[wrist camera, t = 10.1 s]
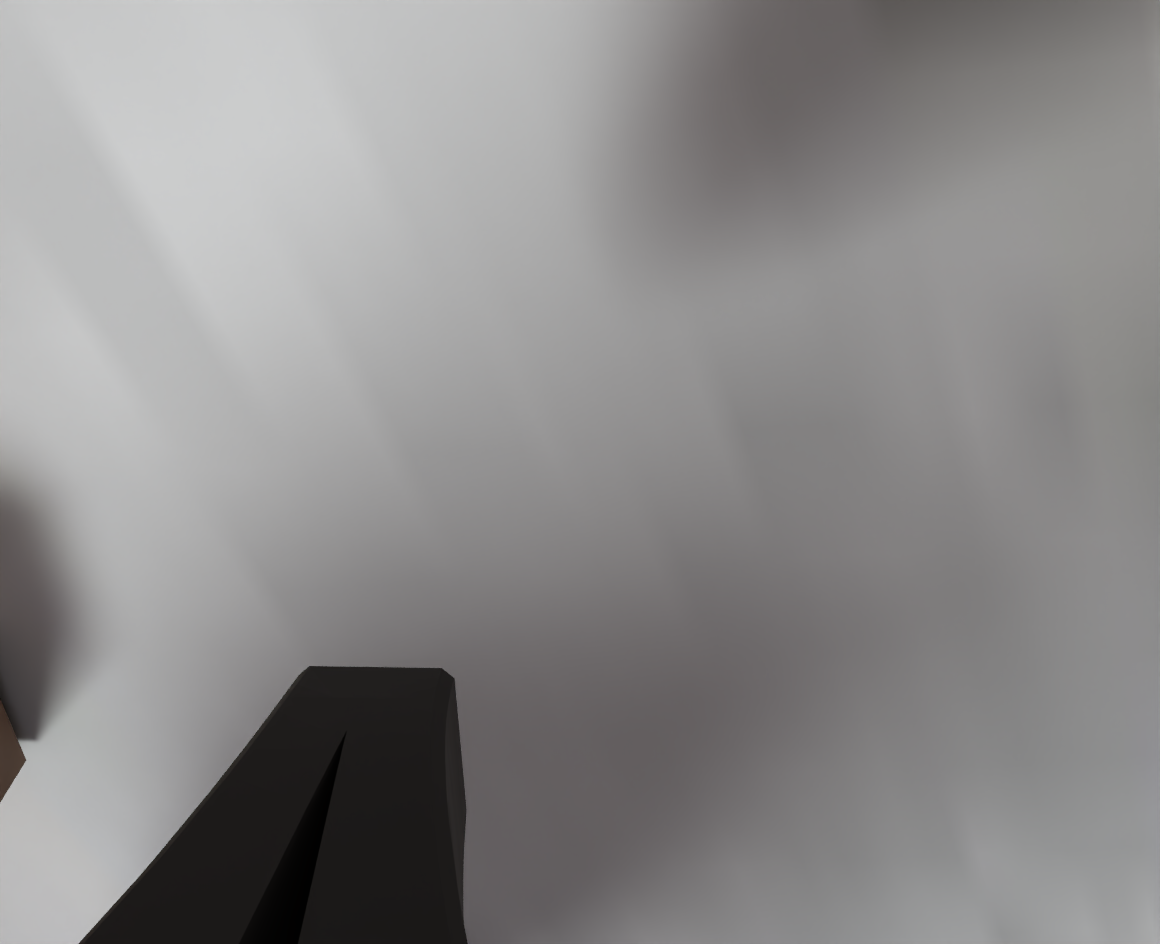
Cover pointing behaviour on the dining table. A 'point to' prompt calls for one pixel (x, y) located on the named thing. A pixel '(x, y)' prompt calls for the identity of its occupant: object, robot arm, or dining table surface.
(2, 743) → the tray
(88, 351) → the dining table surface
